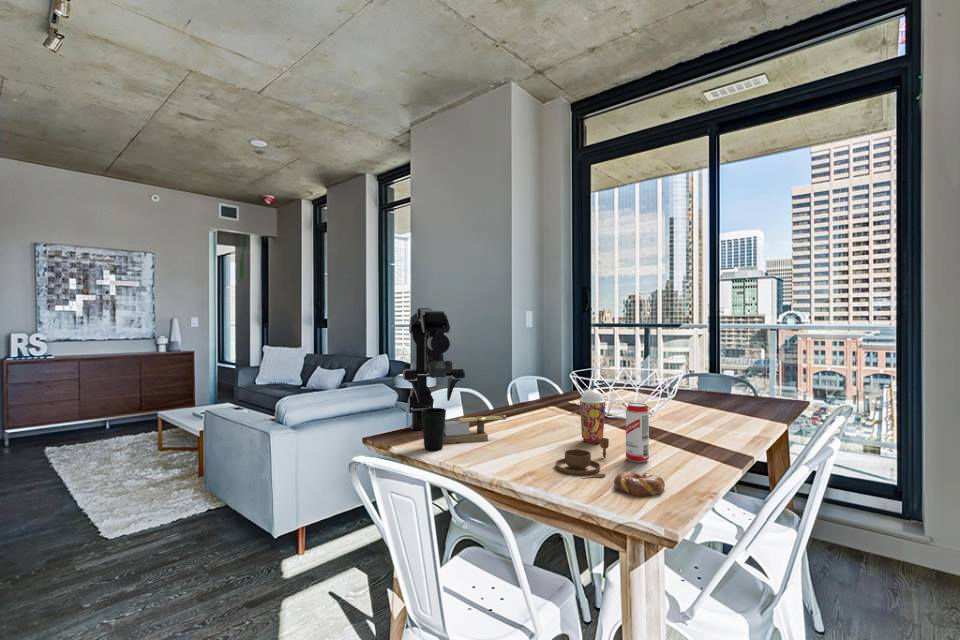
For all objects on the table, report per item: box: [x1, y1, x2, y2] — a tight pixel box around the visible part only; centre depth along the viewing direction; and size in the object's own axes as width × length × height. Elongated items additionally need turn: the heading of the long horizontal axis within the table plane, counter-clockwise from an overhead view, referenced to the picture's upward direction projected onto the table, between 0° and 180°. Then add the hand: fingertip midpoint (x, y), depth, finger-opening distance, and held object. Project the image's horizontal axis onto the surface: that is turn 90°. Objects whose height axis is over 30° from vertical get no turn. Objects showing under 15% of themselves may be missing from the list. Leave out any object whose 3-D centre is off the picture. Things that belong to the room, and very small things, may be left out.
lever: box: [458, 414, 507, 422], centre depth 161 cm, size 4×16×1 cm, turn 106°
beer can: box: [625, 402, 650, 464], centre depth 136 cm, size 6×6×16 cm
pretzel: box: [613, 471, 666, 497], centre depth 113 cm, size 12×11×4 cm
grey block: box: [444, 420, 470, 437], centre depth 158 cm, size 4×8×4 cm, turn 106°
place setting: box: [555, 437, 610, 480], centre depth 130 cm, size 18×20×6 cm
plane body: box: [443, 420, 489, 445], centre depth 158 cm, size 7×17×6 cm, turn 106°
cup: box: [421, 407, 447, 452], centre depth 148 cm, size 8×8×12 cm
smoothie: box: [579, 380, 607, 444], centre depth 157 cm, size 8×8×20 cm
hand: (433, 401), depth 148 cm, fingers open, 9 cm apart
